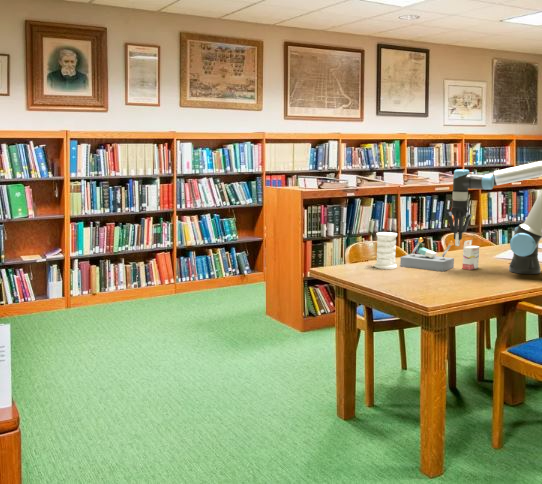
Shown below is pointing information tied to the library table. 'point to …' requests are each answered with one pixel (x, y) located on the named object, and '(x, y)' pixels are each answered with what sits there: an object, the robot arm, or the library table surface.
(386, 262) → the decorative container
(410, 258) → the console
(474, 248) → the ink cartridge box
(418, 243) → the lever far
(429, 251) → the rocker mid
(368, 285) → the library table surface
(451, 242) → the lever near
